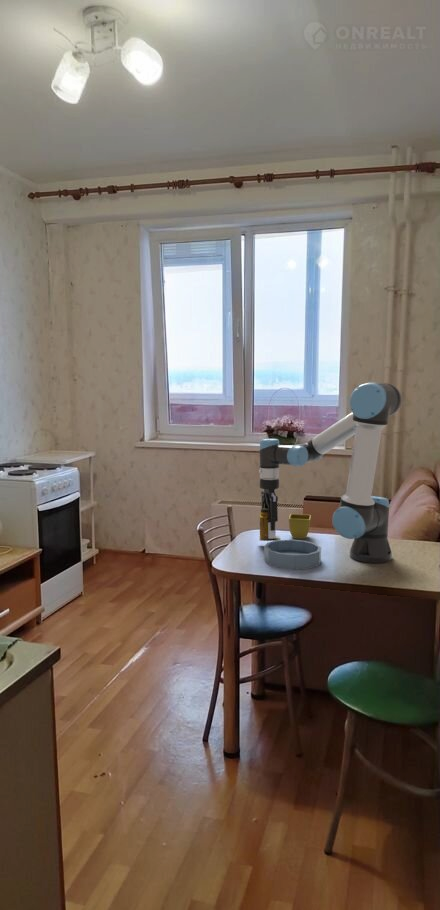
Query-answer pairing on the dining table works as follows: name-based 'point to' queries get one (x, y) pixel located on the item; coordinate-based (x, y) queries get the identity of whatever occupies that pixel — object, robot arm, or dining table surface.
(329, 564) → the dining table surface
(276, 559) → the bowl
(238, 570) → the dining table surface
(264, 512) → the condiment
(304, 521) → the flower pot
